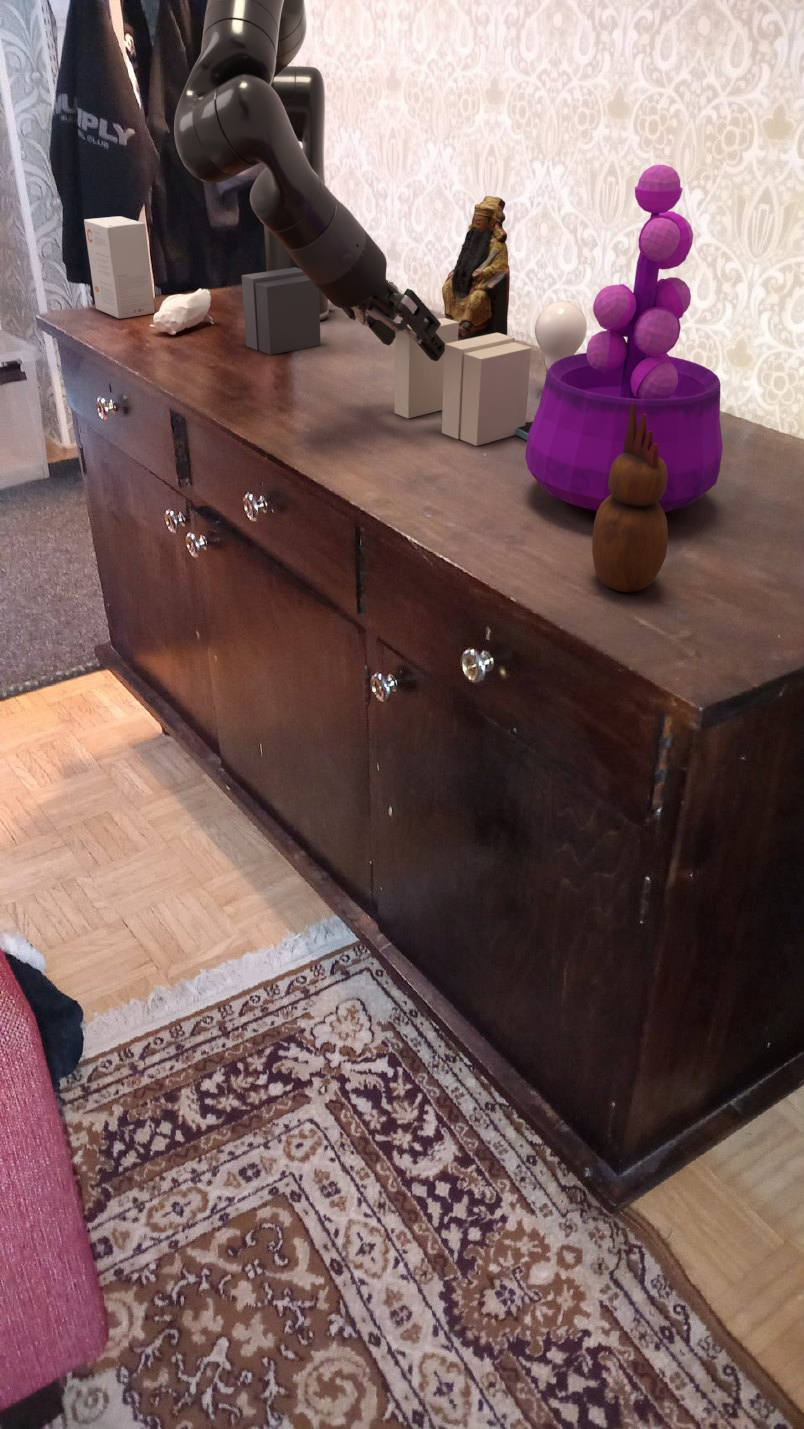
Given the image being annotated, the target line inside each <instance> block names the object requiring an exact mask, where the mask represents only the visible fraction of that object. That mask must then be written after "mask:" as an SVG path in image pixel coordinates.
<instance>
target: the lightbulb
mask: <svg viewBox="0 0 804 1429" xmlns="http://www.w3.org/2000/svg"><path fill="white" fill-rule="evenodd" d="M587 331H588V321H587V318H586V316H585V313H584V312H583V311H582V309H581V308H580V307H579V306H578V305H576V304H574V303H573V302H570V301H565V300H559V301H554V302H552V303H549V304H548V305H546V306H545V307H544V308H543V309H542V310H541V311H540V313H538V316H537V318H536V321H535V325H534V336H535V339H536V342H537V344H538V346H539V348H540V350H541V353H542V355H543V361H544V362H543V363H544V366H545V377H546V376H547V372H548V370H549V368H550V367H551V365H552V364H553V363H555V362H556V361H558V360H560V359H562V358H565V357H568V356H571V355H576V353H577V352H578V350H579V349H580V347H581V346H582V345H583V343H584V341H585V339H586V338H587Z"/></svg>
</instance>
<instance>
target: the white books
mask: <svg viewBox="0 0 804 1429" xmlns="http://www.w3.org/2000/svg"><path fill="white" fill-rule="evenodd" d="M515 340H516V339H515V337H514V336H510V335H508V334H507V335H504V334H501V333H493V334H488V335H484V336H479V337H475V338H470V339H465V340H461V341H456V342H451V343H447V344H445V355H444V383H443V410H441V411H442V413H441V416H442V417H441V418H442V419H441V434H443V435H446V436H447V437H451V438H452V439H455V440H461V441H463V442H465V443H468V444H470V445H473V446H475V447H478V446H482V445H485V444H489V443H492V442H496V441H499V440H502V439H506V438H510V437H513V436H516V435H515V434H516V428H518V427H522V426H525V422H527V421H526V420H527V408H528V397H529V396H528V395H529V383H530V372H531V371H530V370H531V360H532V359H531V358H532V347H531V346H528V345H524V344H521V343H518V342H515Z"/></svg>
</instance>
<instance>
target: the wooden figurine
mask: <svg viewBox="0 0 804 1429" xmlns="http://www.w3.org/2000/svg"><path fill="white" fill-rule="evenodd" d="M666 485H667V469H666V465H665V463H664V461H663V459H661V458H660V457H658V444H657V443H655V444H653V432H652V431H648V432H647V434H646V414H642V417H641V420H640V424H639V427H638V430H637V418H636V405H635V403H634V402H633V403H631V407H630V413H629V419H628V424H627V430H626V436H625V442H624V449H623V454H621V455H619V456H618V457H617V458H616V459H615V461H614V462H613V464H612V467H611V469H610V474H609V481H608V486H609V491H610V494H611V495H610V496H608V497H607V498H606V499H605V500H604V501H603V502H602V503H601V505H600V507H599V509H598V511H596V514H595V518H594V523H593V528H592V529H593V530H592V540H591V543H592V546H591V553H592V561H593V566H594V570H595V575H596V577H597V578H598V580H599V581H600V582H601V583H602V584H603V585H604V586H606V587H607V588H609V589H611V590H614V591H617V592H622V593H635V592H639V591H642V590H644V589H646V588H647V587H649V586H650V585H651V584H652V583H653V581H654V580H655V579H656V577H657V576H658V574H659V572H660V570H661V569H662V567H663V565H664V562H665V559H666V557H667V552H668V546H669V543H668V542H669V530H668V520H667V515H666V512H664V511H663V509H662V507H661V506H660V504H659V503H658V501H659V500H660V499H661V498H662V496H663V494H664V492H665V490H666Z"/></svg>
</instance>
